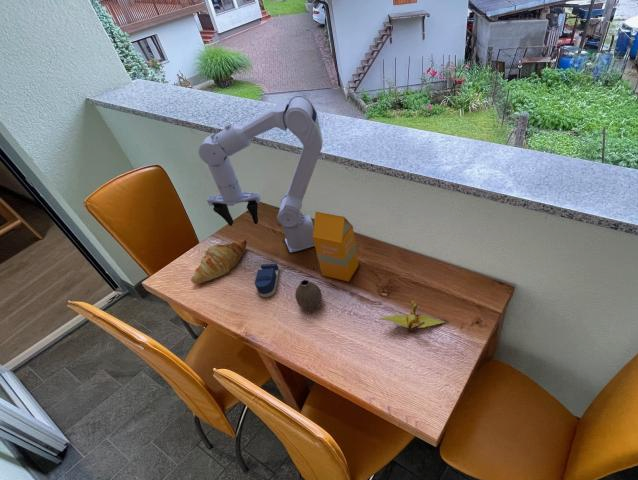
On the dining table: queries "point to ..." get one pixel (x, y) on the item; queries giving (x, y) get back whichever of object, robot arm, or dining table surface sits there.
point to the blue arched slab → (267, 279)
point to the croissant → (219, 261)
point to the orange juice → (335, 246)
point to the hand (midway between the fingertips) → (244, 223)
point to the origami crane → (413, 319)
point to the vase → (308, 295)
